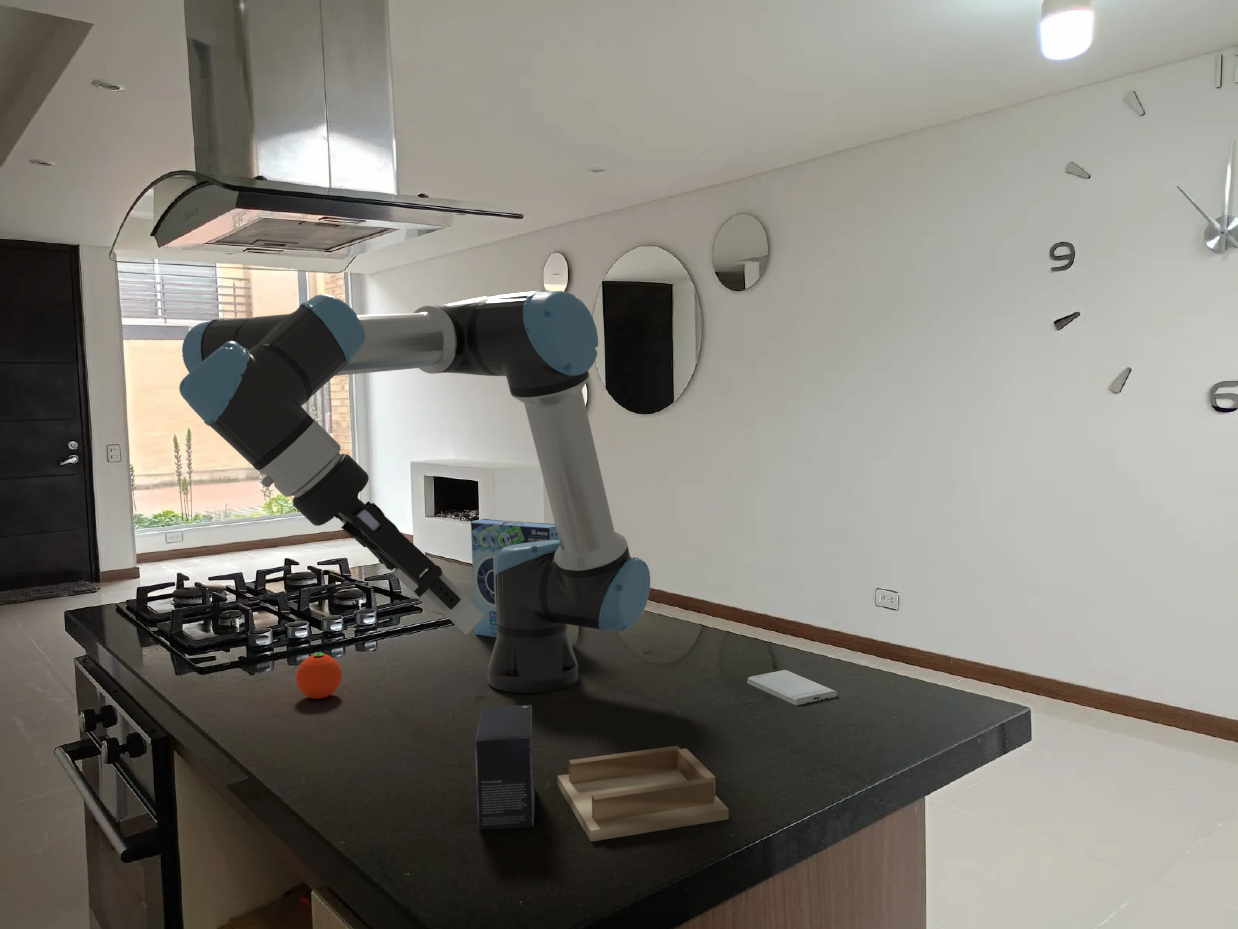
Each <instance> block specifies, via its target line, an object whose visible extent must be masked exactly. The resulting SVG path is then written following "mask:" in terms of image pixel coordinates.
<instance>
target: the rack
mask: <svg viewBox="0 0 1238 929" xmlns="http://www.w3.org/2000/svg"><path fill="white" fill-rule="evenodd" d="M557 786H558V789H559V790H560V792H561V794H562V795H563V797H564V799H565V800H566V803H567V804H568V805H569V807H570V809H571V810H572V812H573V814H574V815H575V818H577V820H578V823H579V824H580V826H581V828H582V829H583V831H584V832H585V834H586V835H587V837H588V839H589V841H590V842H599V841H602V840H603V841H604V840H608V839H609V840H610V839H615V838H622V837H628V836H634V835H641V834H646V833H647V834H648V833H652V832H658V831H665V830H672V829H677V828H683V827H689V826H690V827H691V826H695V825H701V824H707V823H715V822H720V821H721V822H722V821H727V820H729V819H730V818H729V816H730V814H729V812H730V810H729V807H727V806H726V804H725V803H723V801H721V799H720V798H719V797H718V796H717V795H716V776H715V775H714V774H713V773H712V772H711V771H710V770H709V769H708V768H706V766H705V765H703V763H702V762H701V761H699V759H698V758H697V757H696V756H694V754H692V752H690V750H689V749H688V748H680V746H678V745H673V746H667V747H665V746H664V747H659V748H650V749H644V750H635V751H628V752H627V751H626V752H621V753H613V754H606V755H599V756H590V757H584V758H583V757H582V758H576V759H569V760H568V774H560V775H557Z"/></svg>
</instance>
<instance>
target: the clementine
mask: <svg viewBox="0 0 1238 929" xmlns="http://www.w3.org/2000/svg"><path fill="white" fill-rule="evenodd" d="M342 676H343V673H342V667H341V666H340V664H339V662H338V661H337V660H336V659H335V658H334V657H332V656H331V655H329V654H326V653H324V652H318V653H314V654H313V655H310V656H308V657H307V658H305V659H304V660H303V661H302V662H301V663H300V664H299V666H298V668H297V671H296V676H295V679H296V686H297V687H298V689H299V691H300V692H301V693H302V694H303V695H304V696H306V697H308V698H310V699H318V700H319V699H320V700H321V699H323V698H324V699H325V698H327V697H330V696H331V695H333V693H335V692H336V691H337V689H338V688H339V687H340V684H341V681H342Z"/></svg>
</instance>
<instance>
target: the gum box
mask: <svg viewBox="0 0 1238 929" xmlns="http://www.w3.org/2000/svg"><path fill="white" fill-rule="evenodd" d="M470 530H471V532H470V536H471V537H470V538H471V558H472V559H471V560H472V561H471V562H472V587H473V590H472V591H473V604H474V605H475V606H476V607H477V608H478V609H479V610H480V611H481V612H482V613H483V614H484V615H485V616H484V617H483V618H482V619H481V620H480V621H479V622H478V623H477V624H476V625H475V627H474V634H475V635H478V636H484V637H490V638H496V639H497V608H496V581H495V572H496V556H497V554H498V552H499V551H500V550H501V549H502V548H504V547H508V546H512V545H516V544H522V543H529V542H536V541H545V540H559V537H558V533H557V529H556V525H555V523H544V522H531V521H516V520H515V521H514V520H501V519H489V518H483V519H477V520H473V521H470Z"/></svg>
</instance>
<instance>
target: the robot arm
mask: <svg viewBox="0 0 1238 929" xmlns="http://www.w3.org/2000/svg"><path fill="white" fill-rule="evenodd" d="M598 335H599V334H598V329H597V325H596V323H595V320H594V318H593V315H592V313H591V312H590V310H589V308H588V307H587V305H586V304H585V303H584V302H583V300H581V299H580V298H578V297H576V296H575V295H574V294H573V293H570V292H568V291H563V290H549V289H548V290H544V289H540V290H534V291H533V290H532V291H525V292H516V293H508V294H507V293H506V294H498V295H497V294H496V295H485V296H479V297H473V298H469V299H464V300H460V301H455V302H449V303H444V304H438V305H437V304H435V305H422V306H421V307H419V308H417V309H415V310H414V312H413V313H386V314H385V313H383V314H382V313H380V314H379V313H378V314H357V313H356V312H355V311H354V310H353V308H352V307H351V306H350V305H348V304H347V303H346V302H345V301H343V300H342V299H340V298H338V297H336V296H333V295H331V294H325V293H323V294H321V293H320V294H316V295H314V296H313V297H311V298H310V299H309V300H307V301H306V302H301V303H300V304H299V306H298V308H297V309H296V310H295V311H293V312H291V313H287V314H275V315H274V314H272V315H263V316H255V317H243V318H242V317H240V318H228V319H224V318H223V319H222V318H220V319H219V318H218V319H217V318H216V319H211V320H209V321H204V322H201V323H198V324H196V325H195V326H193V327H192V328H191V329H190V330H189V331H188V332H187V333H186V335H185V337H184V339H183V343H182V347H181V348H182V349H181V354H182V360H183V364H184V366H185V368H186V370H187V371H188V373H187V375H185V377H183V379H181V381H180V382H179V386H178V388H179V393H180V395H181V397H182V398H183V400H185V402H186V403H187V404H188V405H189V407H191V409H192V411H194V412H195V413H196V415H198V417H200V418H201V420H203V422H204V424H206V426H208V427H211V429H212V430H214V432H216V434H218V435H219V436H220V437H221V438H222V439H223V440H225V441H226V442H227V443H228V445H230V446H231V447H232V448H233V449H234V450H235V451H237V453H238V454H239V455H240V456H241V457H243V459H245V460H246V462H248V463H249V464H250V465H252V467H253V468H254V469H255V470H256V471H258V472H259V474H261V475H265V477H263V479H262V480H261V481H260V482H261V485H262V486H263V487H264V488H269V487H271V485H273V484H274V487H275V489H276V490H278V492H279V493H280V494H282V496H284V497H286V498H289V497H292V496H293V498H292V506H293V507H294V508H295V509H296V510H297V511H298V512H299V513H301V515H302V516H303V517H305V519H306V520H308V521H309V522H310V523H311V524H312V525H313V526H316V527H319V526H323V525H325V524H327V523H328V522H329V521H332V520H333V519H334V518H335V519H338V520H339V521H340V522H341V523H342V524H343V525H342V526H341V529H342V530H343V531H344V532H345V533H346V534H347V535H348V536H349V537H350V538H352V539H354V540H356V542H357V543H358V544H360V545H361V546H362V547H363V548H367V550H369V552H370V553H372V555H373V556H374V557H375V558H377V560H378V562H379V563H380V564H381V565H384V566H385V568H386V569H387V570H389V571H392V574H393V575H394V576H395V578H397V579H398V580H399V581H400V582H401V583H402V584H403V585H404V586H405V587H406V588H407V589H408V590H409V591H410V592H411V593H413V595H415V597H417V598H418V600H419V601H421V602H422V603H423V604H424V605H425V606H426V607H427V608H428V609H429V610H430V611H431V612H434V611H435V610H436V609H437V608H438V609H439V610H440V611H441V612H442V613H443V614H444V615H445V616H446V617H447V618H448V619H449V620H450V621H451V622H452V623H453V624H454V625H455V626H456V627H457V628H458V629H459V630H460V631H461V632H462V633H463V634H464V635H466V636H467V635H468V634H469V633H470V632H471V631H472V630H473V629H475V625H476V624H477V623H478V622H479V621H480V620H481V619H482V618H483V617H484V616H485V615H484V614H483V613H482V612H481V611H480V610H479V609H478V608H477V607H476V606H475V605H474V602H472V601H471V600H470V599H469V598H468V597H467V596H466V595H465V594H464V593H463V592H462V591H461V590H460V589H459V588H458V587H457V586H456V585H455V584H454V583H453V582H452V581H451V580H450V579H449V578H448V577H447V576H446V575H445V574H444V573H443V569H442V568H441V567H440V565H439V564H436V563H435V562H433V560H431V559H430V558H429V557H428V556H427V555H426V554H424V552H423V551H421V549H419V548H418V547H417V546H416V545H415V544H414V543H412V541H411V540H410V539H409V538H407V537H406V536H405V535H404V534H403V533H402V532H401V531H400V530H399V529H398V527H397V525H396V524H395V523H393V521H392V520H390V519H389V518H388V517H387V516H386V515H385V513H384V512H383V510H382V509H381V508H380V507H379V506H378V505H376V503H374V502H370V501H366V503H364V502H363V501H362V500H361V499H360V498H359V494H360V493H361V492H362V491H363V490H364V489H365V488H366V486H367V484H368V483H369V480H370V479H369V478H370V477H369V474H368V473H367V471H366V470H364V469H363V467H361V465H359V464H358V462H356V461H355V460H354V459H353V458H352V456H351V455H349V454H348V453H347V454H346V453H342V454H341V453H340V452H341V450H342V448H341V445H340V444H339V443H338V441H336V440H335V439H334V438H333V437H332V436H331V434H329V432H328V431H326V429H325V428H323V426H322V425H321V424H320V423H319V422H318V421H317V420H315V419H314V418H313V417H312V416H311V415H310V414H309V413H308V412H307V411H306V410H305V409H304V408H303V406H304V405H305V404H306V403H307V402H308V401H309V400H310V399H311V397H313V396H314V395H315V394H316V393H318V392H319V390H321V389H322V388H323V387H324V386H325V385H326V384H327V383H328V382H330V381H331V379H332V378H334V377H336V376H337V377H339V376H348V375H359V374H370V373H379V372H381V373H382V372H391V371H400V370H411V369H412V370H413V369H419V370H420V371H422V372H424V373H426V374H429V375H431V374H432V375H433V374H441V373H442V374H443V373H444V374H447V373H449V374H450V373H451V374H463V375H474V376H475V375H476V376H485V377H489V376H490V377H506V381H507V385H508V388H509V392H510V395H511V397H513V398H514V399H516V400H518V401H519V402H521V403H523V404H524V408H525V411H526V416H527V419H528V423H529V426H530V427H529V428H530V431H531V434H532V439H533V442H534V447H535V450H536V451H535V452H536V455H537V457H538V462H539V463H538V464H539V465H540V469H541V474H542V478H543V482H544V484H545V485H544V486H545V489H546V494H547V497H548V501H549V505H550V510H551V514H552V518H553V520H554V524H555V525H556V529H557V533H558V537H559V540H545V541H536V542H529V543H522V544H516V545H512V546H508V547H504V548H502V549H501V550H500V551H499V552H498V554H497V556H496V572H495V581H496V608H497V638H496V639H495V643H494V645H493V650H492V653H491V656H490V660H489V663H488V666H487V683H488V685H489V686H491V688H494V689H495V690H499V691H503V692H508V693H516V694H538V693H539V694H540V693H548V692H553V691H554V692H555V691H558V690H563V689H565V688H568V687H570V686H572V685H573V684H576V682H578V681H579V664H578V660H577V658H576V655H575V652H574V649H573V646H572V643H571V640H570V637H569V635H568V625H570V626H577V627H582V628H589V629H596V630H600V631H601V632H607V631H609V632H625V631H628V630H630V629H631V628H633V627H634V626H635V625H636V624H637V623H638V622H639V620H640V618H641V617H642V615H643V613H644V611H645V609H646V606H647V604H648V599H649V597H650V590H651V573H650V568H649V566H648V564H647V562H646V561H644V560H643V559H642V558H639V557H638V556H637V557H635V556H633V557H632V556H631V555H630V550H629V546H628V542H627V539H626V537H624V535H622V534H620V533H618V532H616V531H615V529H614V528H615V527H614V524H613V519H612V515H611V511H610V506H609V503H608V498H607V493H606V489H605V485H604V481H603V476H602V472H601V467H600V464H599V458H598V454H597V451H596V450H597V449H596V447H595V442H594V441H595V440H594V436H593V433H592V428H591V425H590V418H589V415H588V411H587V406H586V401H585V398H584V394H583V388H584V387H585V385H586V384H587V382H588V381H589V379H590V374H589V373H590V372H589V370H590V369H591V368H592V367H593V365H594V363H595V362H596V359H597V356H598V351H597V350H596V348H597V347H599V336H598ZM393 570H394V571H393Z"/></svg>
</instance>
